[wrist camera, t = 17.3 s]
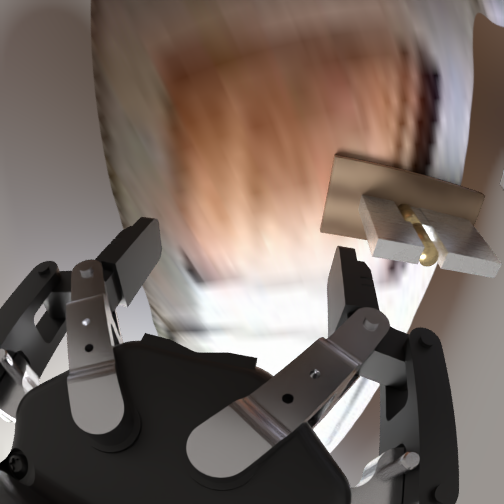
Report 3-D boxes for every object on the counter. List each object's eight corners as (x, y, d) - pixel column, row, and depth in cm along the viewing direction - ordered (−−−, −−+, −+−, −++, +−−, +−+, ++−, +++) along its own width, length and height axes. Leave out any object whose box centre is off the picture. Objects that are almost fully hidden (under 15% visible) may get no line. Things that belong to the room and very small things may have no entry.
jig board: (334, 154, 38) (335, 156, 37) (481, 193, 36) (485, 196, 35) (320, 228, 45) (320, 232, 44) (457, 253, 43) (459, 257, 42)
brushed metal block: (358, 210, 41) (371, 257, 31) (362, 194, 40) (378, 237, 30) (408, 220, 40) (433, 267, 30) (413, 205, 39) (442, 250, 29)
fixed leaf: (398, 201, 39) (423, 246, 29) (468, 219, 38) (502, 263, 28) (393, 217, 40) (416, 264, 31) (463, 232, 39) (494, 278, 29)
